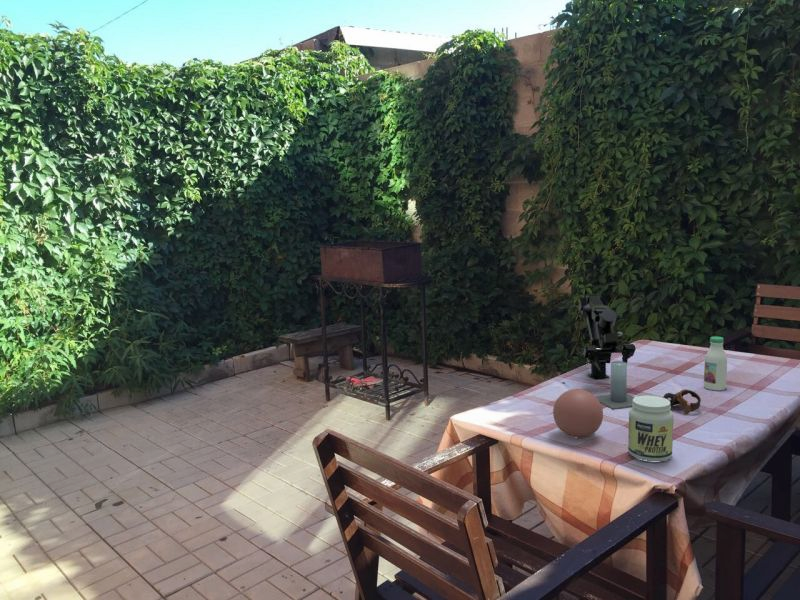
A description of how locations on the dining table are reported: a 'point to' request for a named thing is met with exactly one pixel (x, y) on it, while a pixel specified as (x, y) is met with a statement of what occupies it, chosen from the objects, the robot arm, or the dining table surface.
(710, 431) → the dining table surface
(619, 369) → the tumbler
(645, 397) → the supplement tub
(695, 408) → the brown black curved piece
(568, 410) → the brown rubber ball
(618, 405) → the coaster mat
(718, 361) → the milk bottle
